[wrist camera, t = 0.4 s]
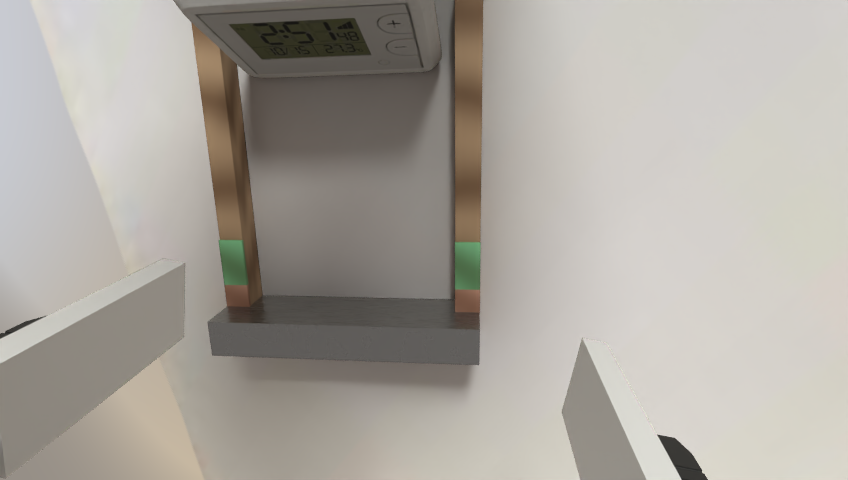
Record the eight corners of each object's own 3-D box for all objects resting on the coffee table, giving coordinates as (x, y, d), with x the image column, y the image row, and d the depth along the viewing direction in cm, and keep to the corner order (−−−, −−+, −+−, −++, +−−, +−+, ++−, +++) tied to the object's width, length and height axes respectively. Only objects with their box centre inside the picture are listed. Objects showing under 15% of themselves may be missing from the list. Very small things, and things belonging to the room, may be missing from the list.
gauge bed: (205, 2, 39) (186, -6, 36) (483, -11, 36) (483, -20, 34) (245, 324, 46) (231, 337, 43) (479, 331, 44) (479, 345, 41)
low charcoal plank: (241, 294, 45) (207, 321, 39) (479, 300, 43) (479, 329, 37) (245, 324, 46) (212, 355, 40) (478, 331, 44) (479, 365, 38)
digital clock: (241, 74, 40) (160, 62, 30) (249, -47, 38) (164, -106, 27) (434, 109, 39) (419, 108, 29) (455, -13, 37) (446, -60, 26)
